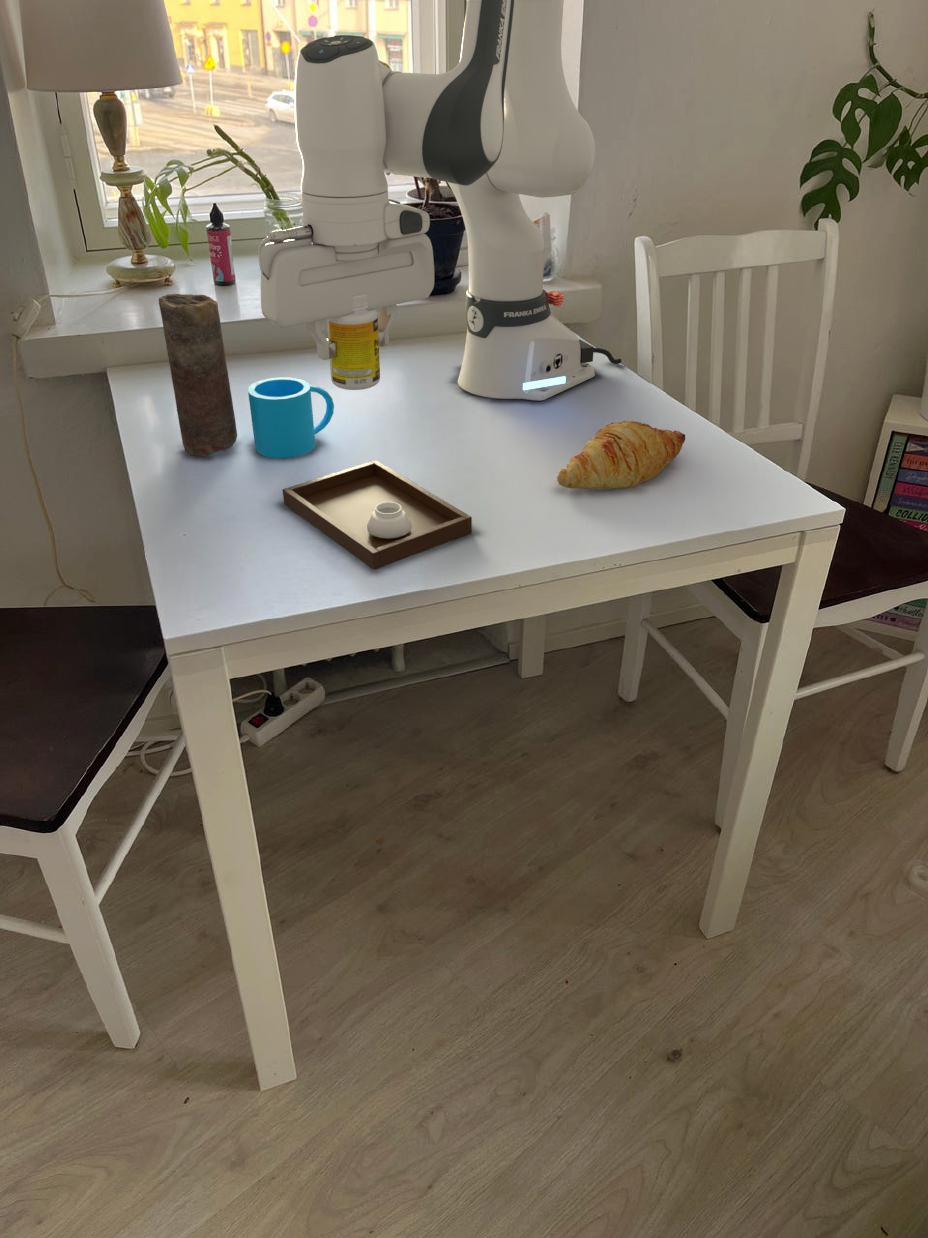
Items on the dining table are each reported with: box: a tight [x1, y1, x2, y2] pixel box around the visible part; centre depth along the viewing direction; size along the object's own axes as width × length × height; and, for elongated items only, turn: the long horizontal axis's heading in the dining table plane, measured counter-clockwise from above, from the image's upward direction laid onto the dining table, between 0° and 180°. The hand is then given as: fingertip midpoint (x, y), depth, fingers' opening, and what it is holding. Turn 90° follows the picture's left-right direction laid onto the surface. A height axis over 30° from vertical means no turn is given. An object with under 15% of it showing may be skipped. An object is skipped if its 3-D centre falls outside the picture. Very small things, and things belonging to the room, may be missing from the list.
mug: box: [247, 376, 335, 459], centre depth 130 cm, size 12×8×8 cm
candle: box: [158, 293, 238, 457], centre depth 126 cm, size 8×7×20 cm
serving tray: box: [281, 459, 473, 571], centre depth 114 cm, size 14×20×2 cm
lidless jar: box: [367, 502, 412, 539], centre depth 110 cm, size 5×3×5 cm
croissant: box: [556, 420, 686, 490], centre depth 123 cm, size 21×10×8 cm, turn 126°
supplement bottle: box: [326, 294, 381, 391], centre depth 107 cm, size 6×6×10 cm
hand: (354, 351), depth 107 cm, fingers closed on supplement bottle, 5 cm apart
